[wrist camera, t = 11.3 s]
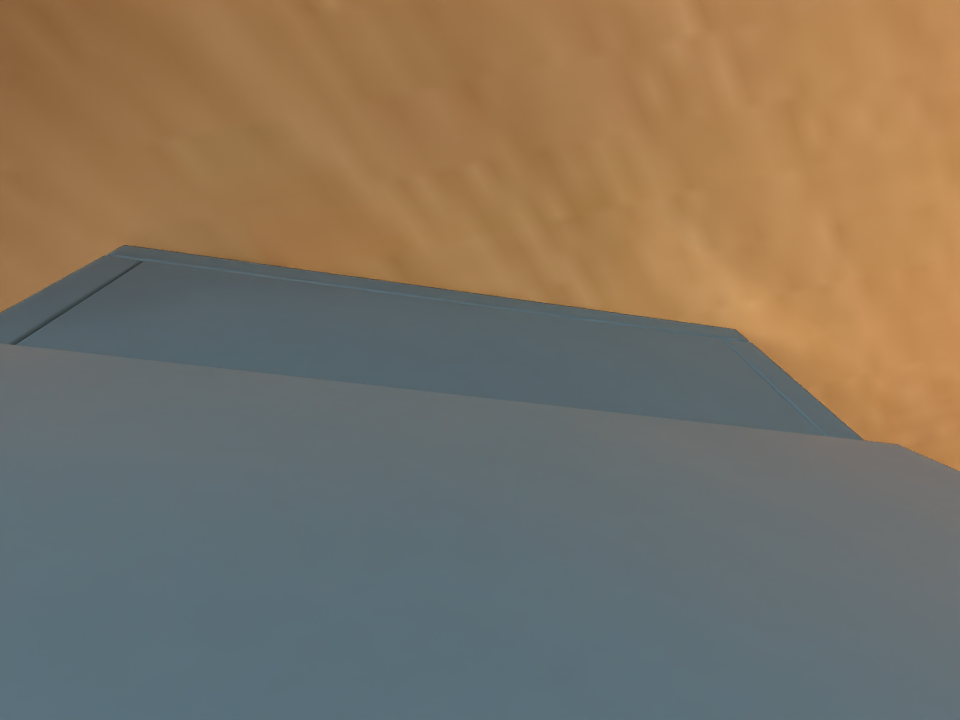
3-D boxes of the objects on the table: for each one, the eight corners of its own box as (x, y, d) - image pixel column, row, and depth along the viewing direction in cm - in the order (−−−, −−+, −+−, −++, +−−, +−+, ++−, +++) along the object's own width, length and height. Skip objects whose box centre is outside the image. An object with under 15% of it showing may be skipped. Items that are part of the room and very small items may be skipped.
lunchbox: (571, 730, 19) (606, 900, 15) (178, 717, 18) (103, 907, 14) (736, 328, 13) (875, 448, 9) (123, 243, 11) (-61, 344, 7)
